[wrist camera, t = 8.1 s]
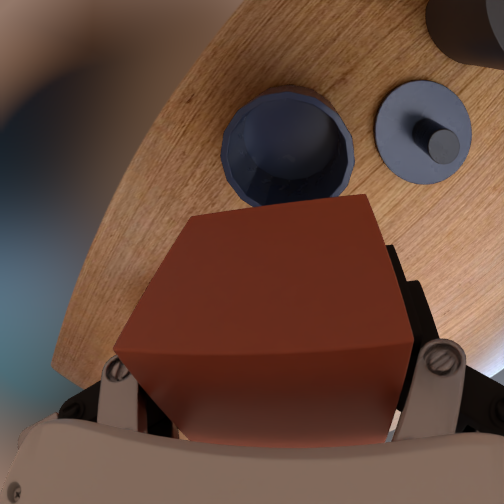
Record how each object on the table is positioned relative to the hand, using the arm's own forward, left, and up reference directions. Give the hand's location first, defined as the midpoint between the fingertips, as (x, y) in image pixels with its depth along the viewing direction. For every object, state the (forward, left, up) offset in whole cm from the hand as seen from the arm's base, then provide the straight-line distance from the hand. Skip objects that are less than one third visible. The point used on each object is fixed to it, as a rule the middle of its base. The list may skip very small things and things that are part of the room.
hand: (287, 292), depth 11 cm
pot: (0, -1, -26) cm, 26 cm away
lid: (+1, +14, -25) cm, 29 cm away
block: (0, 0, -1) cm, 1 cm away
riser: (-11, +21, -26) cm, 35 cm away
